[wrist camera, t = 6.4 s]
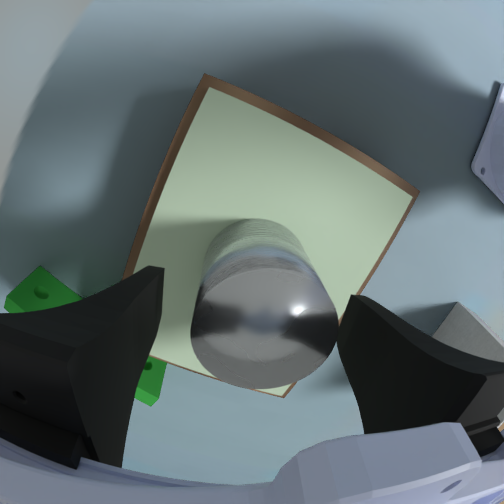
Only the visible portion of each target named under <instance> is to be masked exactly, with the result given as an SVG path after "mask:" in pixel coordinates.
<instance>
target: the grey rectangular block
mask: <svg viewBox="0 0 504 504" xmlns="http://www.w3.org/2000/svg"><path fill="white" fill-rule="evenodd" d="M432 338H434V339H436V340H438V341H440V342H442V343H444V344H446V345H449V346H451V347H453V348H456V349H458V350H461V351H463V352H466V353H469V354H472V355H475V356H478V357H482V358H485V359H489V360H494V361H499V362H504V341H503V340H502V339H501V338H500V337H499V336H498V335H497V334H496V333H495V332H494V331H493V330H492V329H491V328H490V327H489V326H488V325H487V324H486V323H485V322H484V321H483V320H482V319H481V318H480V317H479V316H478V315H477V314H475V313H474V312H473V311H471V310H470V309H468V308H467V307H465V306H464V305H462V304H461V303H459V302H457V303H456V305H455V306H454V307H453V309H452V310H451V312H450V313H449V314H448V316H447V317H446V318H445V320H444V321H443V322H442V324H441V325H440V326H439V328H438V329H437V330H436V332H435V333H434V334H433V336H432ZM497 417H498V418H499V420H500V424H499V426H497V428H499V427H500V426H501V425H502V424H503V423H504V408H503V409H502V411H501V412H500V413H499V414H498V416H497Z"/></svg>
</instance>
